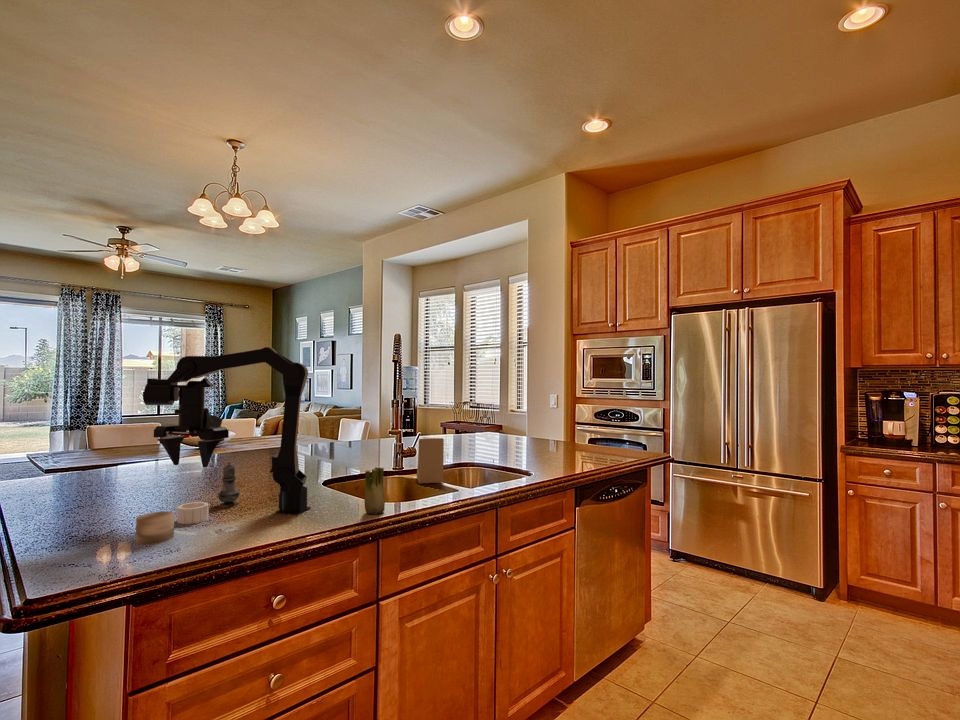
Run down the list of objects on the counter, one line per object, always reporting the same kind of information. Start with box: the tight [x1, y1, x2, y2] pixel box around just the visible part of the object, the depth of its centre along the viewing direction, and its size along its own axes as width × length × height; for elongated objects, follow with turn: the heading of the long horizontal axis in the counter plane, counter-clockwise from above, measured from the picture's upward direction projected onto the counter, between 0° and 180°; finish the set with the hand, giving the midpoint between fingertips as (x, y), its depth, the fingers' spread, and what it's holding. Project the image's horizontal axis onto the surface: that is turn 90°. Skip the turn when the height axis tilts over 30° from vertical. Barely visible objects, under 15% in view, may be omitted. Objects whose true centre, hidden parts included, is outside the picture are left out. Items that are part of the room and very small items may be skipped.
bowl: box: [176, 501, 210, 525], centre depth 125 cm, size 7×7×4 cm
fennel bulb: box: [364, 466, 386, 515], centre depth 133 cm, size 6×5×12 cm
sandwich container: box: [416, 437, 445, 484], centre depth 177 cm, size 9×15×15 cm, turn 10°
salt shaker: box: [216, 461, 241, 508], centre depth 140 cm, size 6×6×12 cm
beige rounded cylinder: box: [135, 511, 175, 545], centre depth 110 cm, size 7×7×5 cm
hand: (190, 465), depth 129 cm, fingers open, 9 cm apart
